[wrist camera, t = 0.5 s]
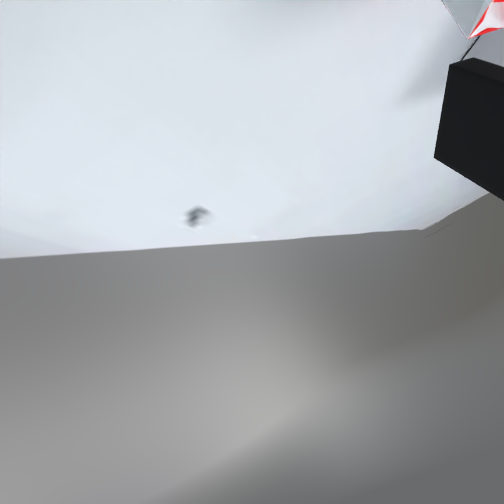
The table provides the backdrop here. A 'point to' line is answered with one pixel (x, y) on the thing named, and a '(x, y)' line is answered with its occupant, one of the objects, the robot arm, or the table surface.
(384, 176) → the table surface
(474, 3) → the red and white cube
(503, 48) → the white cardboard box
